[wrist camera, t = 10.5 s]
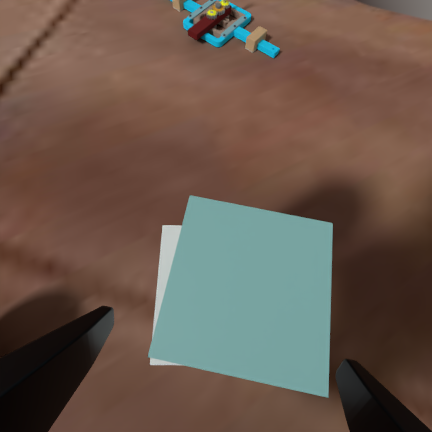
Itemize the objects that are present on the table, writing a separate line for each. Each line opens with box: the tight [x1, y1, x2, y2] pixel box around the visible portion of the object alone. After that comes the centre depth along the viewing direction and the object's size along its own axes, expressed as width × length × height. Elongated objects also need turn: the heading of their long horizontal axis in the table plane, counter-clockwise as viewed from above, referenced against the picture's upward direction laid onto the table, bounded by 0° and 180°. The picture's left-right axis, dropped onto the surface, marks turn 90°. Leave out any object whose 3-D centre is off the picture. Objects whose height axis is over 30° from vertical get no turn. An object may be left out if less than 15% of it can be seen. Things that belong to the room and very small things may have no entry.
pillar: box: [148, 195, 333, 398], centre depth 11 cm, size 4×4×12 cm
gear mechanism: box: [170, 0, 280, 58], centre depth 29 cm, size 20×5×9 cm
